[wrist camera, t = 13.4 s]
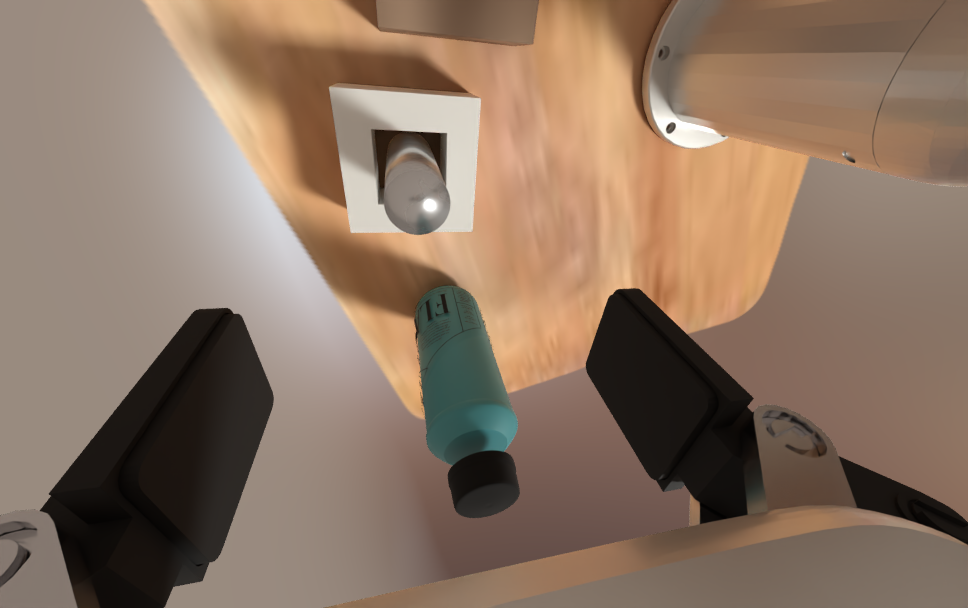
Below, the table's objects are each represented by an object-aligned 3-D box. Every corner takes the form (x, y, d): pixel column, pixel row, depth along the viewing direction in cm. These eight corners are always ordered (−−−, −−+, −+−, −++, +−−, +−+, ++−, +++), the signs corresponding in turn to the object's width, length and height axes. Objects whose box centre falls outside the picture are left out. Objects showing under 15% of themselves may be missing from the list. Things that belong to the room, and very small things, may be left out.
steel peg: (431, 132, 26) (451, 170, 17) (432, 179, 28) (449, 234, 19) (385, 130, 25) (380, 168, 16) (388, 177, 27) (386, 235, 18)
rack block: (469, 93, 25) (480, 98, 22) (464, 213, 30) (472, 231, 27) (337, 82, 23) (328, 86, 20) (355, 212, 28) (350, 232, 25)
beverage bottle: (442, 262, 32) (489, 460, 17) (489, 298, 36) (565, 488, 20) (398, 307, 34) (403, 523, 18) (447, 337, 38) (486, 539, 22)
